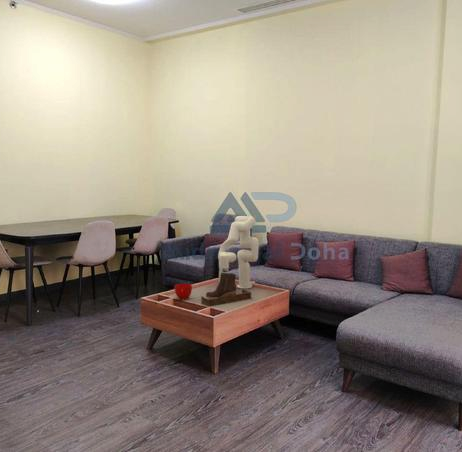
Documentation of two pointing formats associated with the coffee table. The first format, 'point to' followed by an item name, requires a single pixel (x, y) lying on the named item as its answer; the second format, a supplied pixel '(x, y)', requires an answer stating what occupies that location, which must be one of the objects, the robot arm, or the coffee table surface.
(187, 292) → the ceramic cup
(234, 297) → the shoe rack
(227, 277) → the boot
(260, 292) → the coffee table surface
